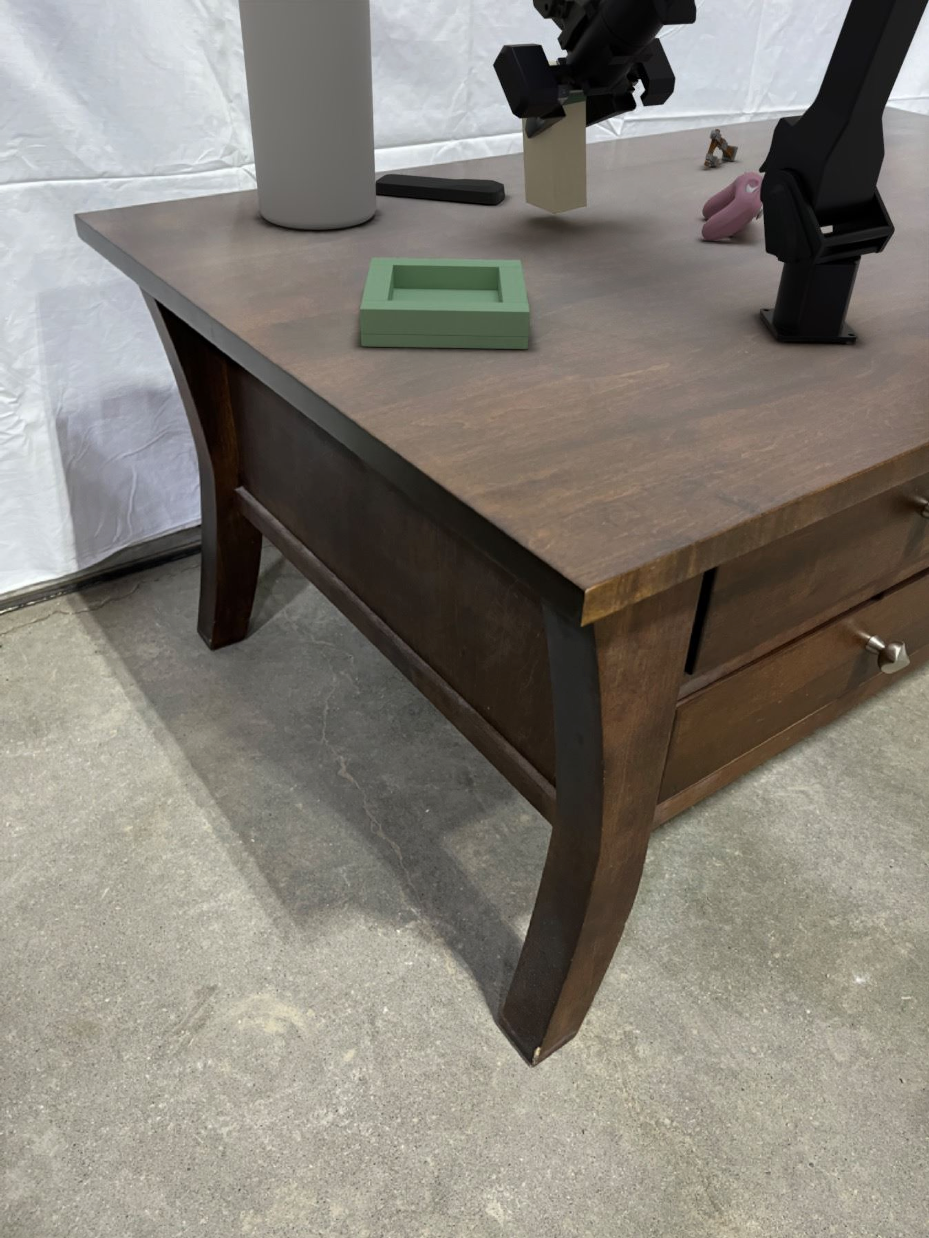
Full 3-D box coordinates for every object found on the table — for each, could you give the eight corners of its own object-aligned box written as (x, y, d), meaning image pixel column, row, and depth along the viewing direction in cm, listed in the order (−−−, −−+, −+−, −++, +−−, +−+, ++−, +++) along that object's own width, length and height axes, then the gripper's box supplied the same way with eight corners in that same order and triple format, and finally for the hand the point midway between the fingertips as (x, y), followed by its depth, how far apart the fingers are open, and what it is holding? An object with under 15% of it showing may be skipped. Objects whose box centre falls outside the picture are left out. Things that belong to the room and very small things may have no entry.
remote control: (372, 198, 115) (496, 205, 112) (371, 182, 114) (496, 188, 111) (386, 189, 119) (507, 195, 115) (385, 173, 118) (507, 178, 114)
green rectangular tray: (527, 349, 77) (530, 311, 75) (361, 346, 77) (359, 308, 75) (519, 294, 88) (521, 260, 86) (372, 291, 87) (371, 257, 86)
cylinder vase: (358, 197, 113) (346, -67, 98) (391, 226, 104) (384, -61, 89) (249, 205, 110) (220, -68, 95) (274, 236, 100) (246, -62, 85)
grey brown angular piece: (697, 162, 128) (708, 125, 126) (715, 179, 134) (726, 143, 133) (710, 164, 127) (721, 126, 126) (728, 181, 134) (738, 145, 132)
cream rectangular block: (587, 206, 104) (586, 66, 96) (554, 214, 102) (549, 73, 95) (557, 194, 108) (553, 60, 100) (524, 202, 107) (518, 67, 99)
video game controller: (734, 260, 102) (777, 198, 98) (697, 236, 102) (739, 173, 97) (732, 234, 110) (773, 176, 106) (698, 212, 109) (737, 152, 105)
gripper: (673, -62, 93) (590, 58, 107) (508, -61, 85) (442, 68, 99) (717, 44, 92) (628, 150, 106) (556, 55, 84) (482, 168, 98)
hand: (547, 132), depth 102 cm, fingers closed on cream rectangular block, 5 cm apart
